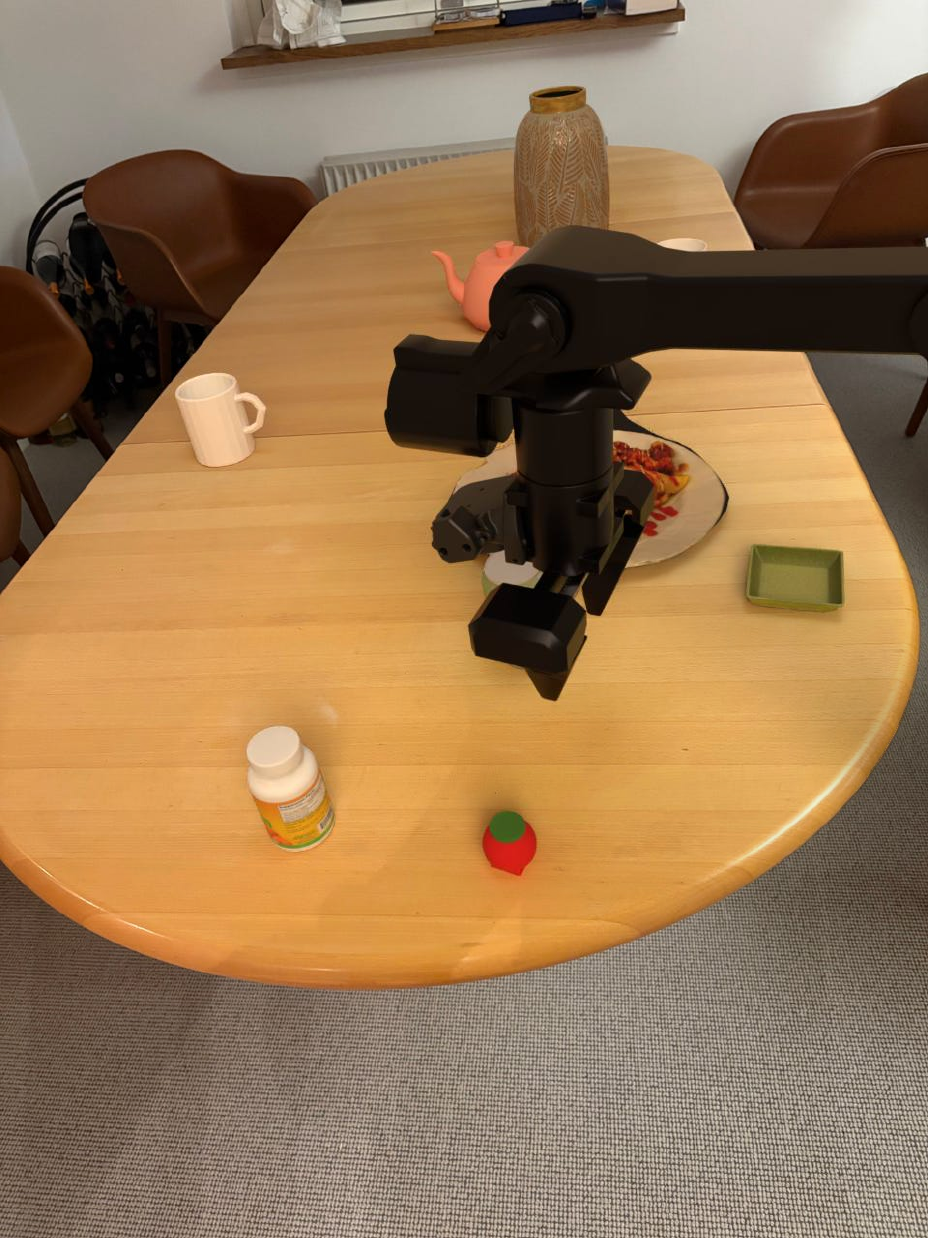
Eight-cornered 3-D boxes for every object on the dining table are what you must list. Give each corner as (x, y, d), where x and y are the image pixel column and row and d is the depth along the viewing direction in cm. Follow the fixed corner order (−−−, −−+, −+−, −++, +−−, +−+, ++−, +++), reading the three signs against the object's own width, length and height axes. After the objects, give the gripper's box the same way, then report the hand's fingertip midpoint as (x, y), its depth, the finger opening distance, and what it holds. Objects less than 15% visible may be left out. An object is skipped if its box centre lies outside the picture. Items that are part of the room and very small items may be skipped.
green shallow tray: (841, 623, 82) (845, 606, 80) (743, 613, 84) (745, 596, 83) (840, 567, 88) (843, 550, 86) (748, 559, 90) (750, 542, 89)
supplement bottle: (262, 814, 72) (229, 734, 66) (325, 789, 73) (298, 708, 67) (278, 864, 68) (244, 784, 62) (344, 837, 69) (317, 756, 63)
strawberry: (546, 845, 67) (543, 811, 64) (526, 889, 64) (522, 855, 61) (497, 830, 68) (492, 796, 66) (476, 872, 66) (470, 838, 63)
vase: (586, 274, 157) (582, 103, 140) (502, 267, 165) (488, 104, 148) (624, 242, 168) (624, 79, 151) (543, 236, 176) (535, 81, 159)
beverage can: (576, 643, 84) (571, 540, 76) (539, 693, 79) (530, 589, 71) (518, 625, 87) (508, 524, 79) (479, 672, 82) (465, 570, 74)
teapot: (432, 342, 142) (421, 264, 134) (447, 306, 153) (437, 232, 145) (569, 334, 138) (566, 254, 130) (574, 298, 149) (571, 222, 141)
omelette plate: (627, 399, 118) (628, 350, 113) (778, 545, 93) (786, 490, 88) (407, 463, 113) (397, 415, 108) (502, 635, 88) (495, 583, 83)
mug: (265, 470, 116) (245, 401, 110) (186, 466, 119) (162, 399, 113) (290, 439, 122) (273, 373, 115) (214, 436, 125) (193, 371, 119)
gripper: (502, 379, 61) (518, 558, 72) (370, 526, 49) (412, 718, 59) (659, 395, 57) (653, 583, 67) (558, 560, 45) (569, 761, 55)
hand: (573, 654), depth 62 cm, fingers open, 9 cm apart
